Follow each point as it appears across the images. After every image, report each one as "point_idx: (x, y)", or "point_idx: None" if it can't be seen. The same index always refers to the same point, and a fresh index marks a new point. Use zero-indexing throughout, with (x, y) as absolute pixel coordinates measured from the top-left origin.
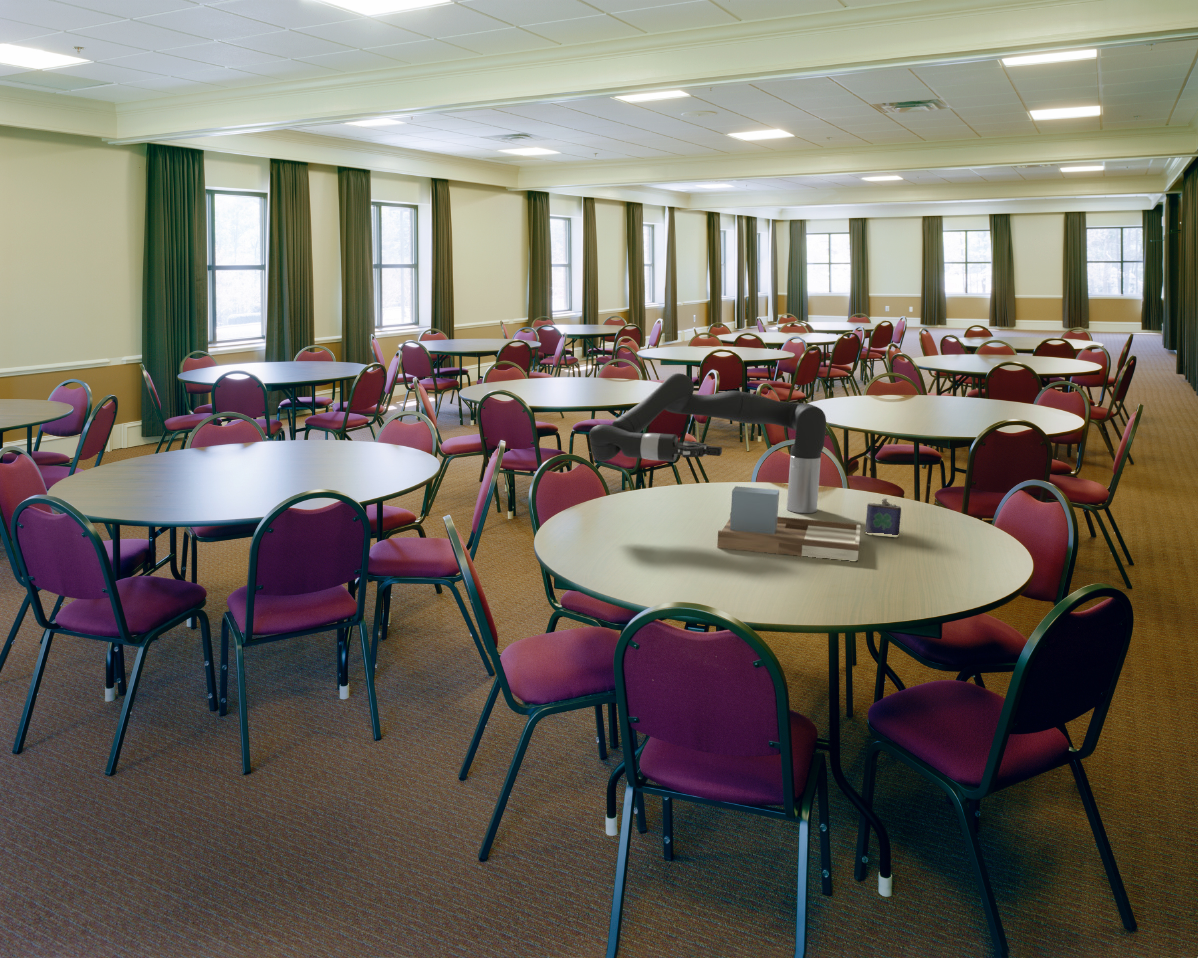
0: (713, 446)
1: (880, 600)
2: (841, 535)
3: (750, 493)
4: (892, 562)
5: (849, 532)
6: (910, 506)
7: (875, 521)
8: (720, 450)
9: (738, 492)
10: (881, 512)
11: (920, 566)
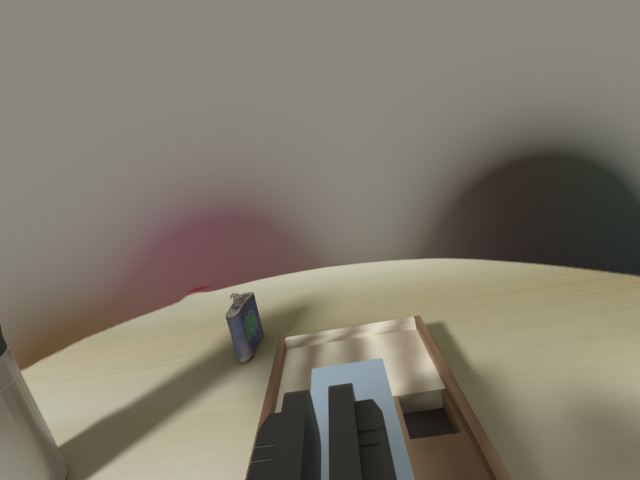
0: (280, 453)
1: (582, 296)
2: (335, 356)
3: (400, 429)
4: (392, 317)
5: (308, 352)
6: (76, 353)
7: (247, 333)
8: (354, 395)
9: (413, 478)
10: (246, 314)
11: (390, 300)
